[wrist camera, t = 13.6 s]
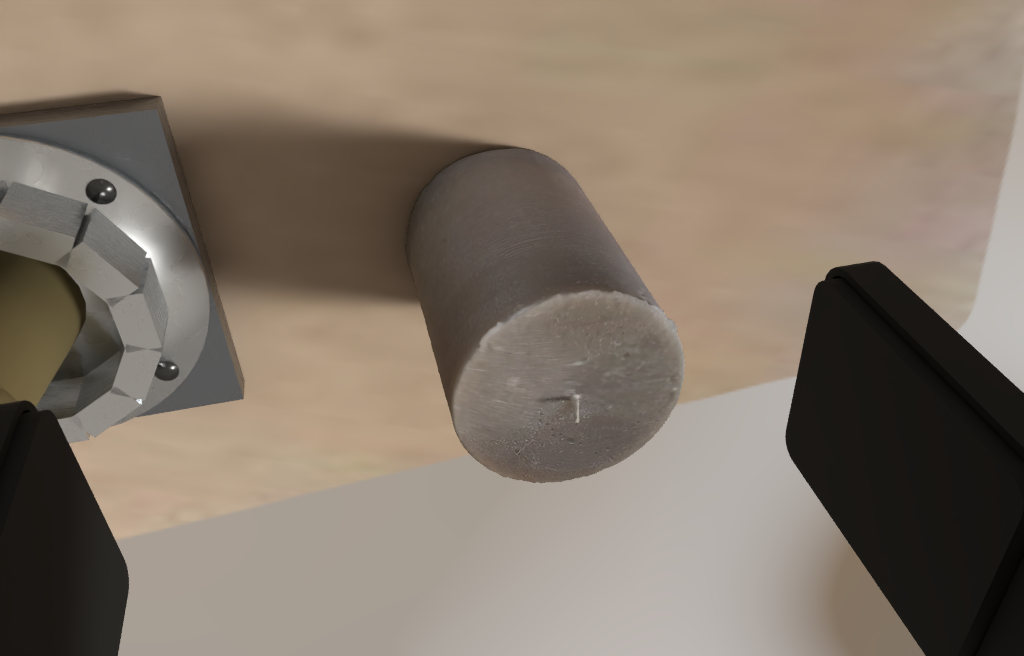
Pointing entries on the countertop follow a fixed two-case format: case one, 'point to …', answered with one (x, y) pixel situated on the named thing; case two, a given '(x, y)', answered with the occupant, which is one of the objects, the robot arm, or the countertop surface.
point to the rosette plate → (118, 261)
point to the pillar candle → (538, 320)
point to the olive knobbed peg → (35, 324)
